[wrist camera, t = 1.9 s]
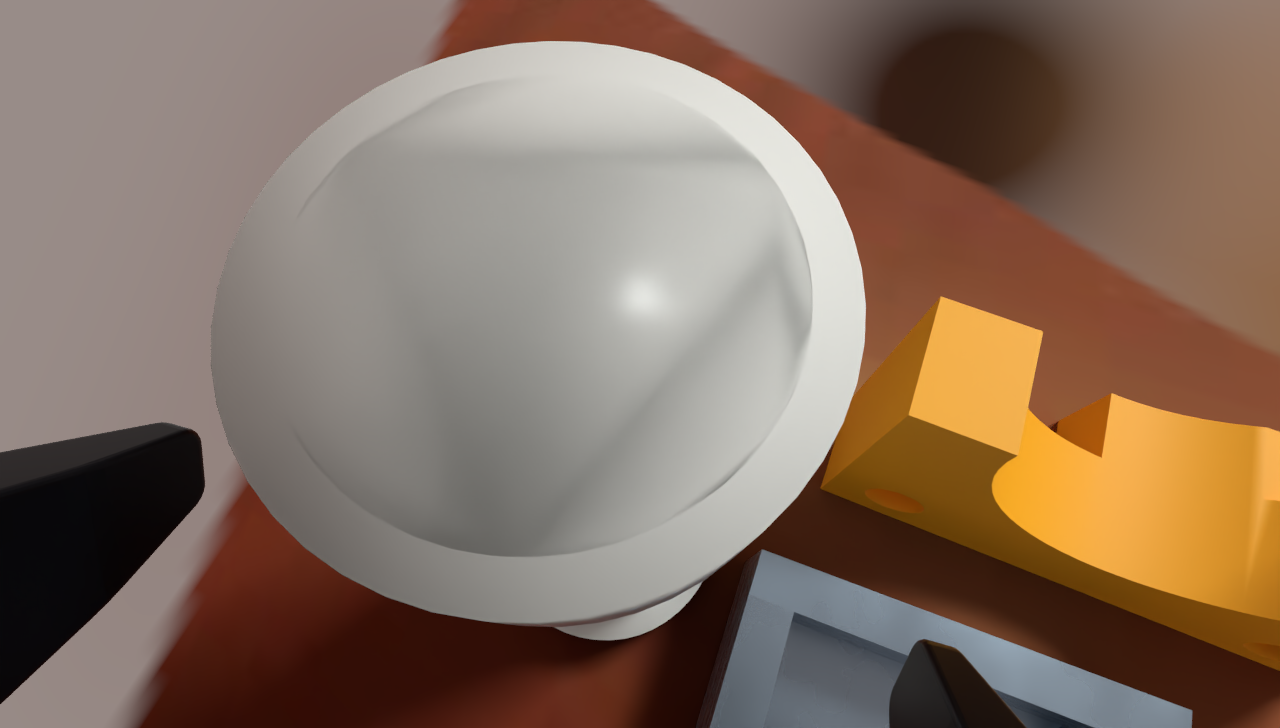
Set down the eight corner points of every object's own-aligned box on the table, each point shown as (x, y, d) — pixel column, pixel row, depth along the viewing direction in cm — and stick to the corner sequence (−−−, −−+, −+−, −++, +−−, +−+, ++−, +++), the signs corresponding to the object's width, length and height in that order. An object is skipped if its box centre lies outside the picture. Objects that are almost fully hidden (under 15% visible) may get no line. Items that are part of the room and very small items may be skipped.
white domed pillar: (670, 674, 16) (771, 777, 4) (474, 593, 17) (43, 471, 5) (735, 472, 18) (939, 124, 6) (556, 408, 18) (403, -24, 6)
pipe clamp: (1302, 512, 18) (1642, 447, 12) (1296, 680, 16) (1684, 703, 10) (861, 353, 19) (960, 225, 13) (818, 490, 18) (909, 415, 12)
